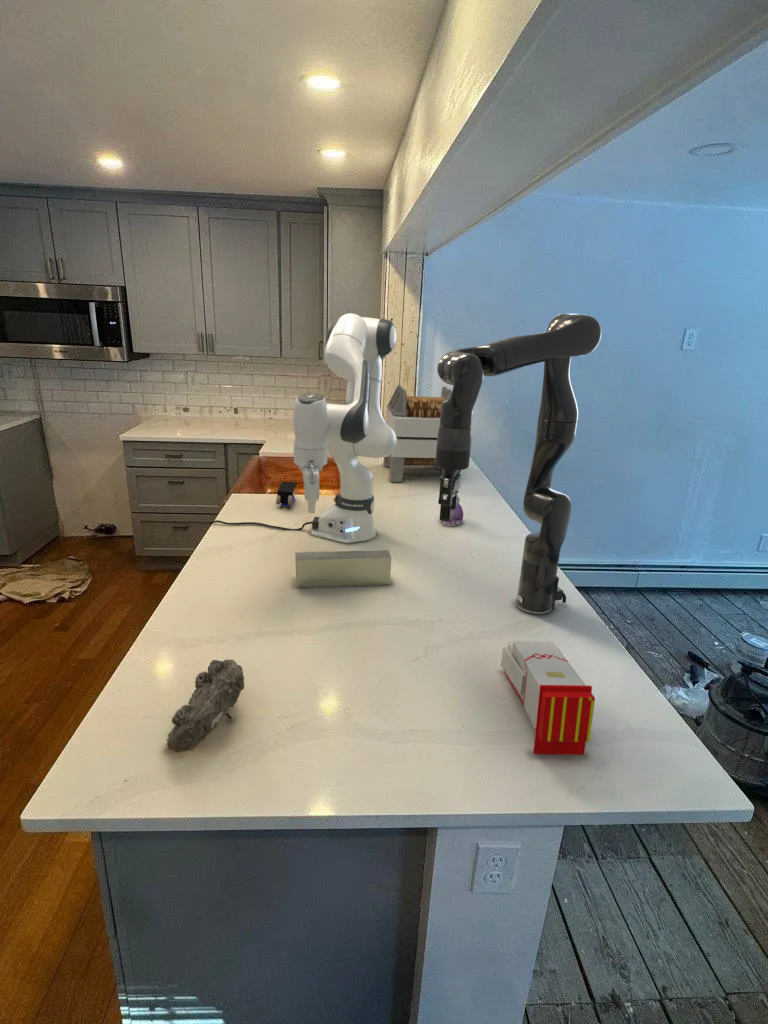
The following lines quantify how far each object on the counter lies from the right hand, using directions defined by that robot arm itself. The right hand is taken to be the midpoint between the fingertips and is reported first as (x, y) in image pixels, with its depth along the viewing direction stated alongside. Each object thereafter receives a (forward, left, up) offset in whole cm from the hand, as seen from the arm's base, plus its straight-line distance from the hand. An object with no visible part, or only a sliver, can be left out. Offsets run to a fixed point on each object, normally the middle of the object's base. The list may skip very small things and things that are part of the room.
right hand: (447, 514), depth 131 cm
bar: (+15, -31, -31) cm, 47 cm away
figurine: (-37, -67, -31) cm, 83 cm away
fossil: (+55, +16, -31) cm, 65 cm away
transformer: (-52, -132, -31) cm, 146 cm away
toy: (-7, +32, -31) cm, 45 cm away
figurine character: (+18, -101, -31) cm, 107 cm away
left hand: (+24, -33, -7) cm, 42 cm away
